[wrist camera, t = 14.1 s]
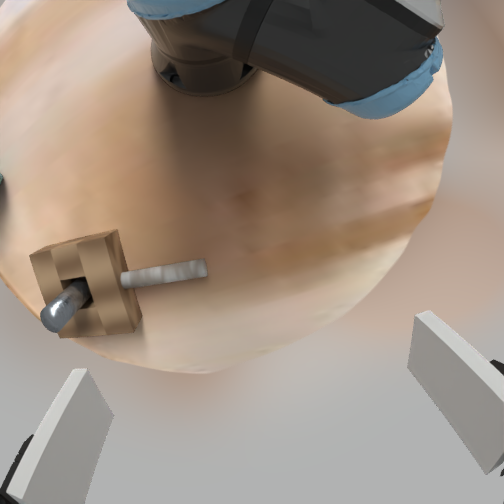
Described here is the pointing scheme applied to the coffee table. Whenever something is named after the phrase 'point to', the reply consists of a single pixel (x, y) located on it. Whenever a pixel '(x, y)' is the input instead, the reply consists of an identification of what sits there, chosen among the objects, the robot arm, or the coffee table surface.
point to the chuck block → (102, 282)
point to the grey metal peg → (65, 305)
